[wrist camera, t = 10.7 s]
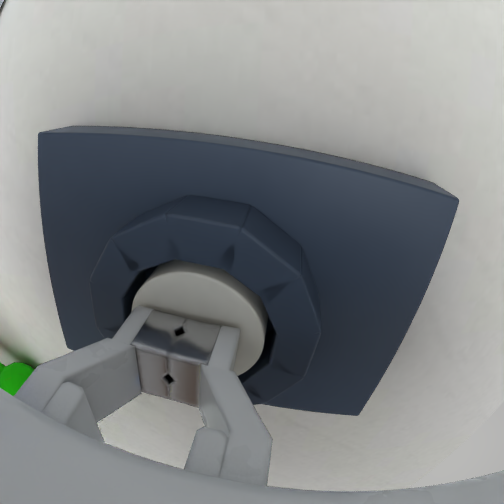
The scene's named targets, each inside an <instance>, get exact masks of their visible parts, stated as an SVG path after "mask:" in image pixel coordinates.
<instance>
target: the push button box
mask: <svg viewBox="0 0 504 504" xmlns="http://www.w3.org/2000/svg"><path fill="white" fill-rule="evenodd" d="M38 176H39V194H40V206H41V217H42V226H43V234H44V242H45V249H46V255H47V262H48V267H49V273H50V278H51V283H52V288H53V293H54V298H55V302H56V307H57V311H58V315H59V319H60V323H61V327H62V331H63V334H64V338H65V341H66V345H67V347H68V348H69V349H71V350H74V351H76V350H78V349H81V348H83V347H86V346H88V345H91V344H93V343H96V342H98V341H101V340H103V339H106V338H110V339H112V338H113V337H114V336H115V334H116V333H117V331H118V330H119V329H120V327H121V326H122V325H123V323H124V322H125V320H126V319H127V318H128V316H129V315H130V314H131V312H132V303H133V300H134V297H135V295H136V293H137V292H138V290H139V289H140V288H141V286H142V285H143V284H144V283H145V281H146V280H147V279H148V278H149V276H150V275H151V274H152V273H153V272H154V270H155V269H156V268H157V267H158V265H160V264H163V263H166V262H169V261H172V260H175V259H176V260H181V261H186V262H190V263H195V264H200V265H205V266H210V267H215V268H220V269H223V270H225V271H226V272H227V273H229V274H230V275H231V276H233V277H234V278H235V279H237V280H238V281H239V282H241V283H242V284H243V285H245V286H246V287H247V288H249V289H250V290H251V291H253V292H254V293H255V294H257V295H258V296H259V297H260V298H261V300H262V302H263V304H264V307H265V309H266V311H267V313H268V322H267V328H266V335H265V341H264V347H263V350H262V353H261V355H260V357H259V359H258V360H257V362H256V363H255V364H254V365H253V366H252V367H251V368H250V369H249V370H247V371H246V372H244V373H243V374H240V375H238V378H239V380H240V382H241V384H242V386H243V387H244V389H245V391H246V393H247V395H248V397H249V398H250V400H251V402H252V404H253V405H255V404H265V405H271V406H277V407H283V408H290V409H297V410H304V411H312V412H321V413H330V414H341V415H353V416H358V415H359V414H360V412H361V411H362V409H363V408H364V406H365V404H366V403H367V401H368V400H369V398H370V396H371V395H372V393H373V392H374V390H375V388H376V387H377V385H378V383H379V382H380V380H381V378H382V377H383V375H384V373H385V371H386V370H387V368H388V366H389V364H390V363H391V361H392V359H393V357H394V355H395V354H396V352H397V350H398V348H399V346H400V344H401V342H402V340H403V338H404V337H405V335H406V333H407V331H408V329H409V327H410V325H411V323H412V320H413V318H414V316H415V314H416V312H417V310H418V308H419V306H420V304H421V301H422V299H423V297H424V295H425V292H426V290H427V288H428V285H429V283H430V281H431V278H432V276H433V274H434V271H435V269H436V266H437V264H438V261H439V259H440V256H441V253H442V251H443V248H444V245H445V243H446V240H447V237H448V234H449V231H450V228H451V225H452V222H453V219H454V216H455V213H456V210H457V207H458V204H459V199H458V198H457V197H455V196H454V195H452V194H450V193H449V192H447V191H446V190H444V189H443V188H441V187H439V186H438V185H436V184H435V183H433V182H430V181H427V180H423V179H420V178H417V177H414V176H410V175H407V174H403V173H400V172H396V171H393V170H389V169H385V168H382V167H378V166H374V165H370V164H366V163H362V162H358V161H354V160H350V159H346V158H342V157H337V156H333V155H328V154H324V153H319V152H314V151H309V150H304V149H299V148H294V147H289V146H283V145H278V144H272V143H266V142H260V141H254V140H247V139H240V138H233V137H226V136H219V135H211V134H202V133H193V132H183V131H173V130H161V129H148V128H131V127H109V126H69V127H64V128H59V129H54V130H49V131H44V132H40V133H39V134H38Z"/></svg>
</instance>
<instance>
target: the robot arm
mask: <svg viewBox="0 0 504 504" xmlns="http://www.w3.org/2000/svg"><path fill="white" fill-rule="evenodd" d="M239 337H240V328H234V327H229V326H223V325H222V326H221V325H217V324H212V323H207V322H203V321H198V320H193V319H189V318H185V317H181V316H178V315H174V314H170V313H167V312H163V311H159V310H156V309H155V310H154V309H151V308H147V307H144V306H140V305H139V306H137V307H135V308H134V310H133V311H132V312H131V314H130V315H129V316H128V318H127V319H126V320H125V322H124V323H123V325H122V326H121V327H120V329H119V330H118V331H117V333H116V334H115V336H114V337H113V338H112V339H110V338H106V339H103V340H101V341H98V342H96V343H93V344H91V345H88V346H86V347H83V348H81V349H78V350H76V351H73V352H71V353H68V354H66V355H63V356H61V357H58V358H56V359H53V360H51V361H48V362H46V363H43V364H40V365H38V366H37V367H36V369H35V370H34V371H33V372H32V374H31V375H30V376H29V377H28V379H27V380H26V381H25V382H24V384H23V385H22V386H21V388H20V389H19V390H18V391H17V393H16V394H15V395H14V396H12V395H11V394H9V393H7V392H6V391H4V390H3V389H1V388H0V504H504V470H503V471H500V472H496V473H492V474H488V475H485V476H480V477H476V478H471V479H467V480H462V481H457V482H452V483H446V484H440V485H433V486H426V487H418V488H408V489H397V490H383V491H315V490H300V489H289V488H279V487H271V486H267V481H268V473H269V465H270V457H271V449H272V440H273V439H272V437H271V435H270V434H269V432H268V430H267V429H266V427H265V425H264V423H263V422H262V420H261V418H260V416H259V415H258V413H257V411H256V409H255V407H254V406H253V404H252V402H251V400H250V398H249V397H248V395H247V393H246V391H245V389H244V387H243V386H242V384H241V382H240V380H239V378H238V376H237V374H236V372H234V366H235V360H236V355H237V349H238V343H239ZM141 392H145V393H148V394H152V395H155V396H159V397H163V398H167V399H170V400H174V401H177V402H180V403H184V404H187V405H191V406H194V407H198V408H199V411H200V414H201V417H202V420H203V422H204V425H205V427H202V428H200V429H198V430H197V431H196V434H195V437H194V440H193V443H192V446H191V449H190V452H189V455H188V458H187V461H186V464H185V467H184V469H180V468H177V467H173V466H170V465H166V464H163V463H160V462H156V461H153V460H150V459H147V458H144V457H141V456H138V455H135V454H133V453H130V452H127V451H124V450H122V449H119V448H117V447H114V446H111V445H109V444H106V443H104V439H103V437H102V435H101V432H100V430H99V428H98V425H97V422H98V421H100V420H102V419H103V418H105V417H106V416H108V415H109V414H111V413H112V412H114V411H115V410H117V409H119V408H120V407H122V406H123V405H125V404H126V403H128V402H129V401H131V400H132V399H134V398H135V397H137V396H138V395H140V394H141Z"/></svg>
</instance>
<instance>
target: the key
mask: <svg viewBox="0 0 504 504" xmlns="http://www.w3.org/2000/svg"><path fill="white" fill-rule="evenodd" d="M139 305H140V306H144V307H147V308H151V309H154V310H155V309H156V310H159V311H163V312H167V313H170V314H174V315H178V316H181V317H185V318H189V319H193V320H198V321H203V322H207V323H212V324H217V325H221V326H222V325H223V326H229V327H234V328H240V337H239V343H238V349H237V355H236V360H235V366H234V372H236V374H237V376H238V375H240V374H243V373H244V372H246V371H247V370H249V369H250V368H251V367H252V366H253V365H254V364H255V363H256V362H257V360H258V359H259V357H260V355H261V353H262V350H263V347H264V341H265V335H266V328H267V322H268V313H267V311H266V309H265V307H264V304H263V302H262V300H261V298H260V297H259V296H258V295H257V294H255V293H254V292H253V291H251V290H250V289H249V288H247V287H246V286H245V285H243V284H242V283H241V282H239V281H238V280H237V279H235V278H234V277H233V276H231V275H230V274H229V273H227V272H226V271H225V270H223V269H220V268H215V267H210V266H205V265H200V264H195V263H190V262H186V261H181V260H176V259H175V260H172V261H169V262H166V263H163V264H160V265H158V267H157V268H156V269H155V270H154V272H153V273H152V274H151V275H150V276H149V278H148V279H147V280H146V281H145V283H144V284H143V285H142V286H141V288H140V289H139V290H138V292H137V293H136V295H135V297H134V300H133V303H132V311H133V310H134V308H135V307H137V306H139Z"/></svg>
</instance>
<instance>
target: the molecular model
mask: <svg viewBox="0 0 504 504" xmlns="http://www.w3.org/2000/svg"><path fill="white" fill-rule="evenodd" d="M33 371H34V369H33V368H32V367H31V366H29V365H26V364H24V363H17V362H14V363H12V364H10V365H8V366H4V365H3V364H2V363H0V388H1V389H3V390H4V391H6V392H7V393H9V394H11V395H12V396H14V395H15V394H16V393H17V391H18V390H19V389H20V388H21V386H22V385H23V384H24V382H25V381H26V380H27V379H28V377H29V376H30V375H31V374H32V372H33Z"/></svg>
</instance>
